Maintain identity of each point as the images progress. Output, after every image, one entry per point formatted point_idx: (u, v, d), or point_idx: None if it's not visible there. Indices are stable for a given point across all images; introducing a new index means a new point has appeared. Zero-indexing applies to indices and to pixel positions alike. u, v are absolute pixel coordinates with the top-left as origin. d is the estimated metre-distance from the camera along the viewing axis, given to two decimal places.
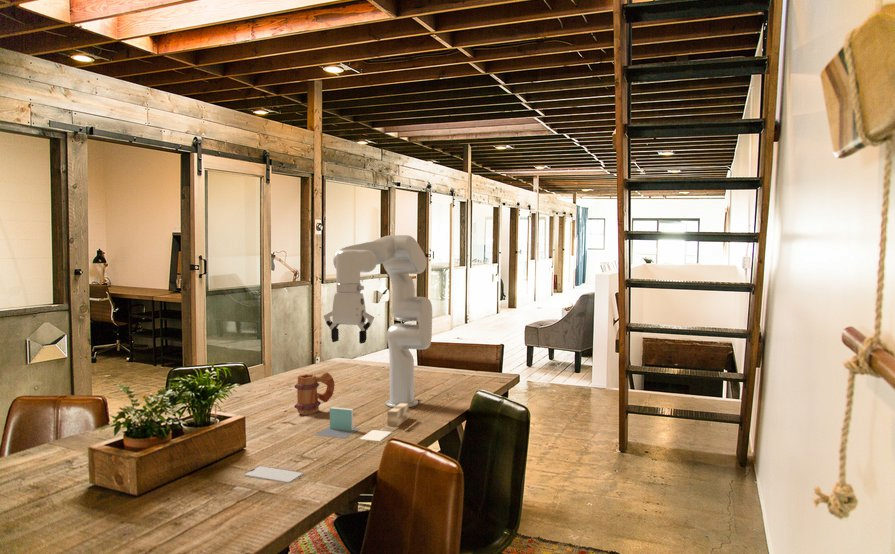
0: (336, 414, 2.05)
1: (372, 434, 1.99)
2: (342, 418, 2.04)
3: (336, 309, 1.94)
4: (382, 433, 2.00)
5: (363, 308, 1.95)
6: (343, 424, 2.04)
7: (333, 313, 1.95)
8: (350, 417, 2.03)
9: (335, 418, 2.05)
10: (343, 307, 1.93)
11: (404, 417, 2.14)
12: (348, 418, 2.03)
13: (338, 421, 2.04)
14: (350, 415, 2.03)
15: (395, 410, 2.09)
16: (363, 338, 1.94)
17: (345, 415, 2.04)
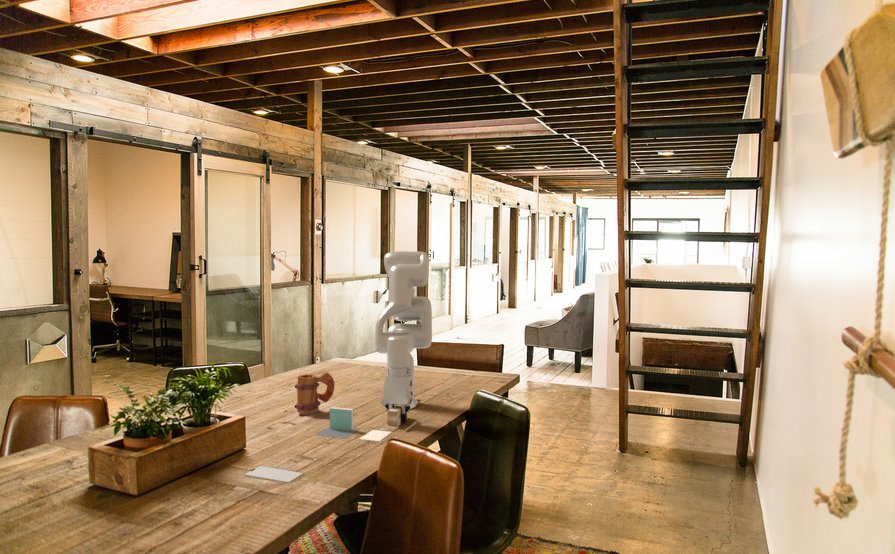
0: (336, 414, 2.05)
1: (372, 434, 1.99)
2: (342, 418, 2.04)
3: (387, 390, 2.12)
4: (382, 433, 2.00)
5: (412, 389, 2.12)
6: (343, 424, 2.04)
7: (384, 394, 2.12)
8: (350, 417, 2.03)
9: (335, 418, 2.05)
10: (394, 388, 2.10)
11: None
12: (348, 418, 2.03)
13: (338, 421, 2.04)
14: (350, 415, 2.03)
15: (395, 410, 2.09)
16: (404, 420, 2.12)
17: (345, 415, 2.04)
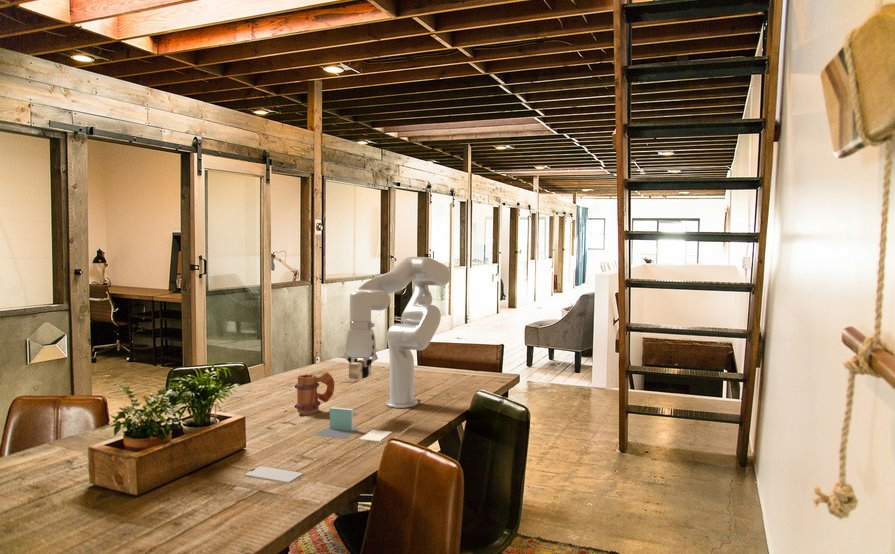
0: (336, 414, 2.05)
1: (372, 434, 1.99)
2: (342, 418, 2.04)
3: (349, 344, 2.17)
4: (382, 433, 2.00)
5: (373, 343, 2.17)
6: (343, 424, 2.04)
7: (346, 347, 2.17)
8: (350, 417, 2.03)
9: (335, 418, 2.05)
10: (356, 342, 2.16)
11: None
12: (348, 418, 2.03)
13: (338, 421, 2.04)
14: (350, 415, 2.03)
15: (356, 363, 2.14)
16: (365, 373, 2.17)
17: (345, 415, 2.04)
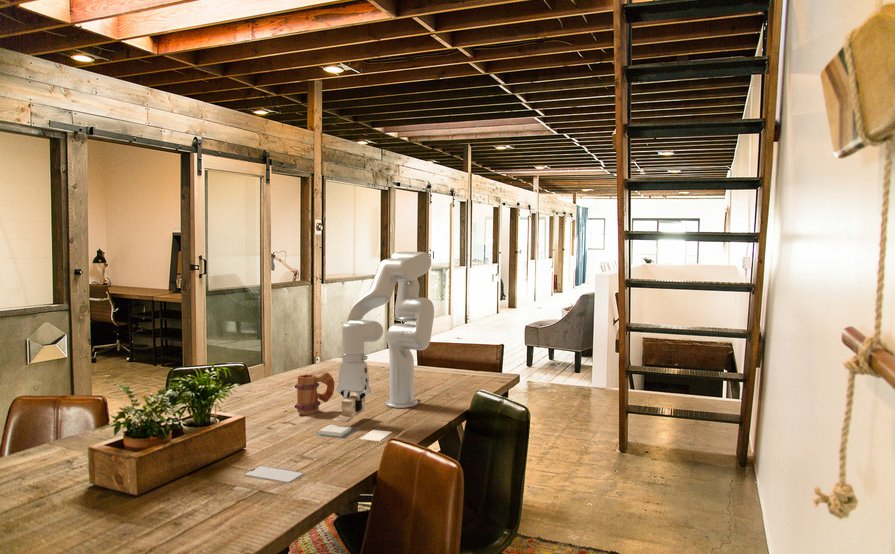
0: None
1: (372, 434, 1.99)
2: None
3: (342, 377, 2.12)
4: (382, 433, 2.00)
5: (367, 376, 2.12)
6: None
7: (339, 381, 2.12)
8: (344, 434, 1.99)
9: None
10: (349, 375, 2.11)
11: None
12: None
13: None
14: None
15: (349, 400, 2.09)
16: (359, 407, 2.12)
17: None
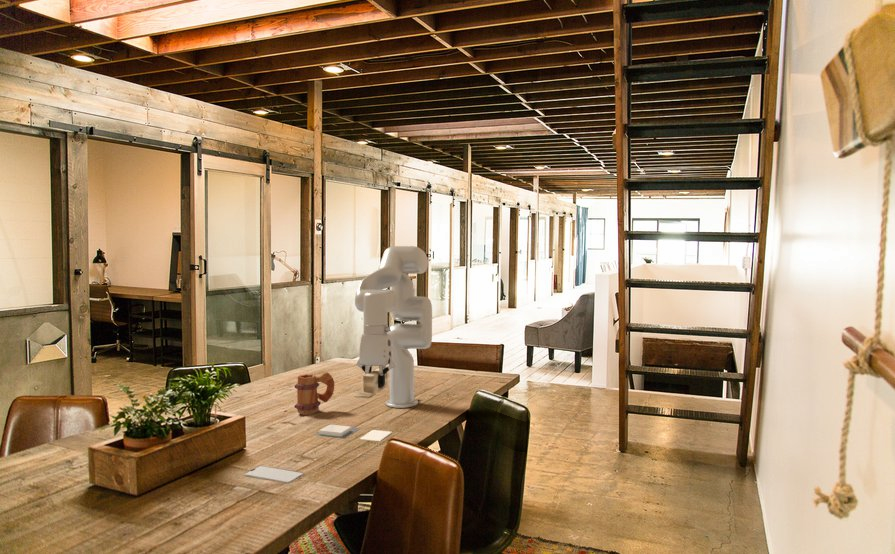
0: None
1: (372, 434, 1.99)
2: None
3: (363, 350, 1.95)
4: (382, 433, 2.00)
5: (390, 349, 1.96)
6: None
7: (360, 354, 1.96)
8: (344, 434, 1.99)
9: None
10: (371, 348, 1.94)
11: None
12: None
13: None
14: None
15: (372, 375, 1.93)
16: (382, 383, 1.96)
17: None
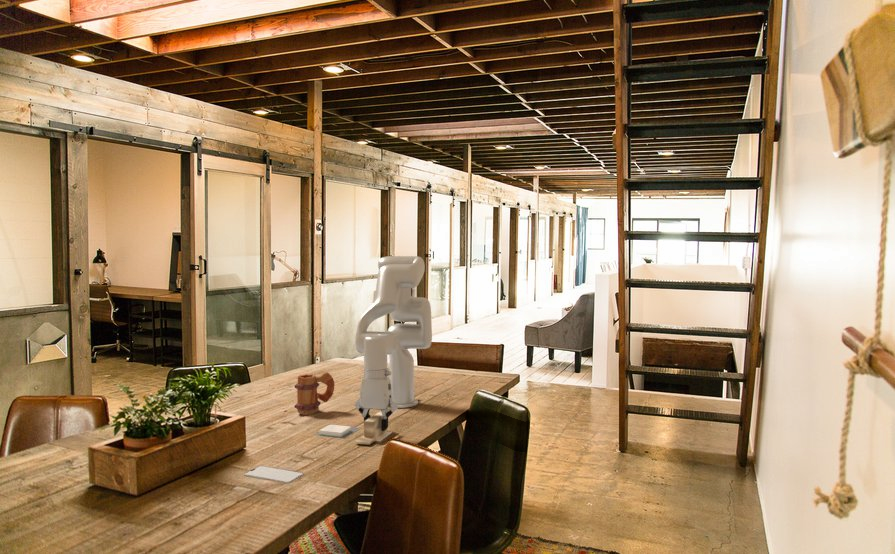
0: None
1: None
2: None
3: (364, 394, 1.96)
4: None
5: (390, 393, 1.96)
6: None
7: (360, 398, 1.97)
8: (344, 434, 1.99)
9: None
10: (371, 392, 1.95)
11: None
12: None
13: None
14: None
15: (372, 420, 1.94)
16: (385, 426, 1.96)
17: None
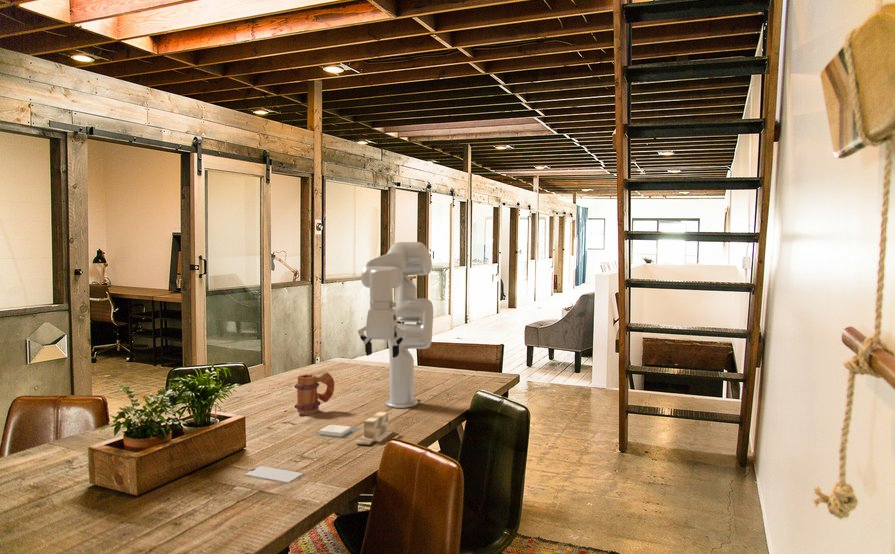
0: None
1: None
2: None
3: (370, 325, 2.04)
4: None
5: (395, 324, 2.04)
6: None
7: (367, 328, 2.05)
8: (344, 434, 1.99)
9: None
10: (377, 323, 2.03)
11: (382, 427, 1.99)
12: None
13: None
14: None
15: (372, 420, 1.94)
16: (396, 352, 2.04)
17: None
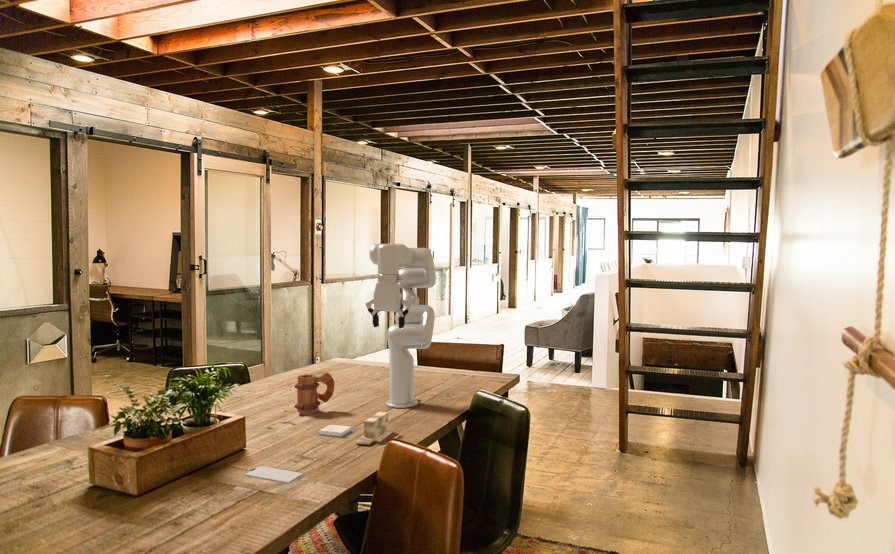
0: None
1: None
2: None
3: (377, 297, 2.15)
4: None
5: (402, 296, 2.15)
6: None
7: (374, 301, 2.16)
8: (344, 434, 1.99)
9: None
10: (384, 295, 2.14)
11: (382, 427, 1.99)
12: None
13: None
14: None
15: (372, 420, 1.94)
16: (402, 323, 2.14)
17: None
